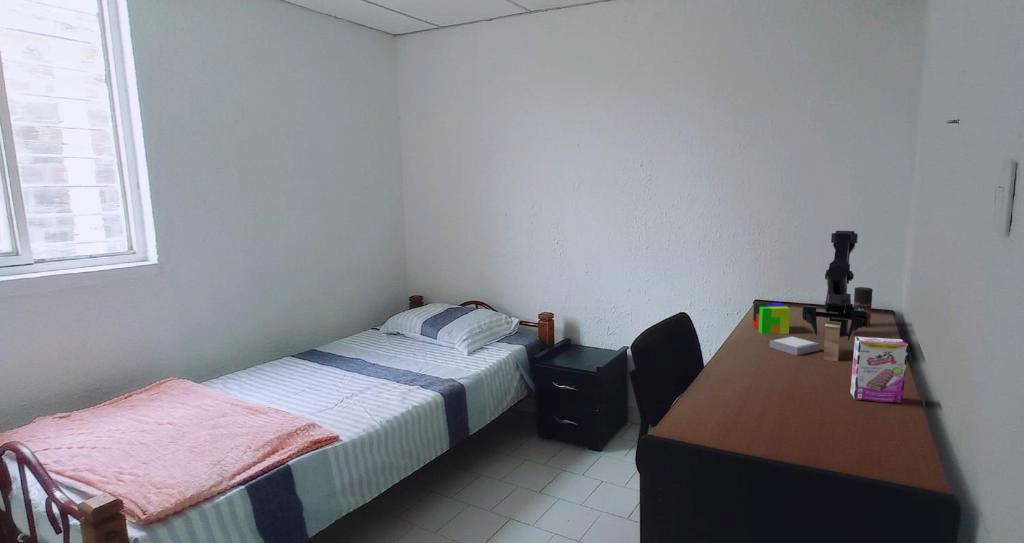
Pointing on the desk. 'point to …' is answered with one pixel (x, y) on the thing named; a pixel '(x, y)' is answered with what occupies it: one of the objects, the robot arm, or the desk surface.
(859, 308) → the deodorant
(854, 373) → the candy bar box
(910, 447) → the desk surface
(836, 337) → the beige rectangular block
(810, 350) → the plinth
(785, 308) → the puzzle toy
